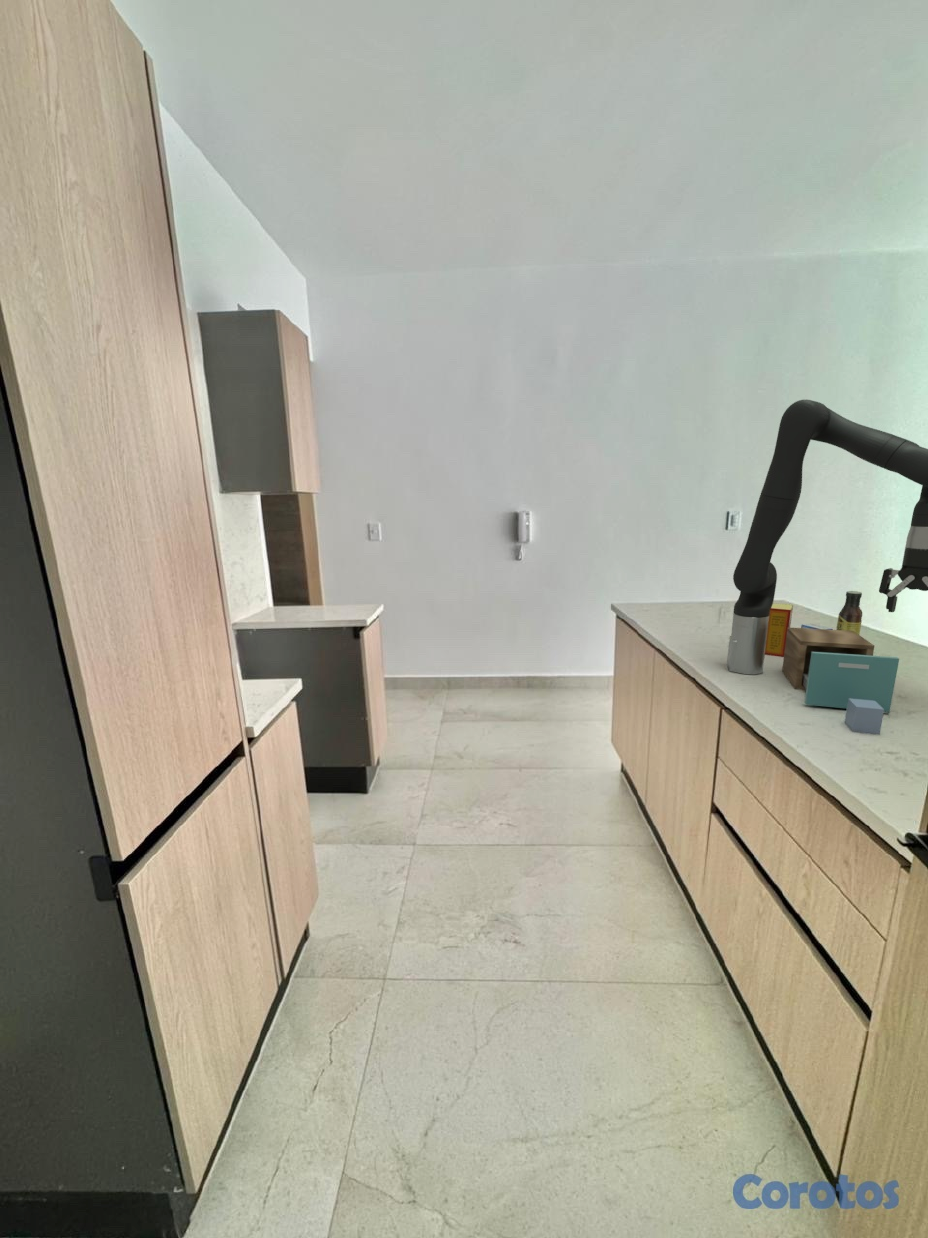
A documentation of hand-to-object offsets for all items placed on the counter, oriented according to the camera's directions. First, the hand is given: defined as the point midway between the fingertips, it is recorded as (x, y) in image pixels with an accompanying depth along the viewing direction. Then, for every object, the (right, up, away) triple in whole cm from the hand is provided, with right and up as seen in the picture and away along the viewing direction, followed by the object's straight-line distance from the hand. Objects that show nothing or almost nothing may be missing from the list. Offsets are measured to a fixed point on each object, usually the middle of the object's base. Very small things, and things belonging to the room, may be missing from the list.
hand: (914, 614), depth 119 cm
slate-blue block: (-17, -26, -6) cm, 31 cm away
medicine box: (+10, -12, +49) cm, 51 cm away
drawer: (-11, -21, +10) cm, 26 cm away
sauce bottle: (+20, -12, +49) cm, 54 cm away
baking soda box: (-3, -12, +49) cm, 51 cm away
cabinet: (-7, -19, +21) cm, 29 cm away
